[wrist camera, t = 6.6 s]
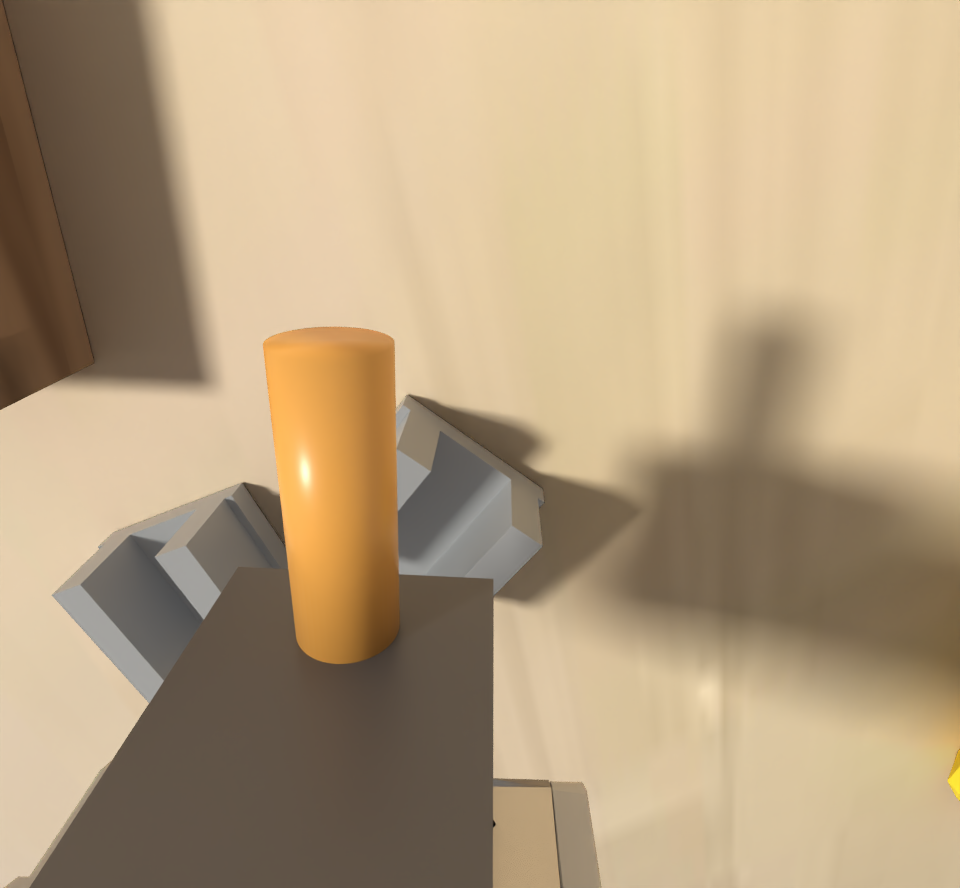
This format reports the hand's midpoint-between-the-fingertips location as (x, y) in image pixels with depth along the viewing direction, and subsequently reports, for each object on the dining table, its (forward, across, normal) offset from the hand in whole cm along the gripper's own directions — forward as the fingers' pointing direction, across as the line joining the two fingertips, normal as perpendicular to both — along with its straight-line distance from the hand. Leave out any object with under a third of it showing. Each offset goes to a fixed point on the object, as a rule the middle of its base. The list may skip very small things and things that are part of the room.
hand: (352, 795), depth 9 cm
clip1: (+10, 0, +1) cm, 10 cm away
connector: (+2, 0, -2) cm, 3 cm away
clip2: (+10, +7, +4) cm, 13 cm away
